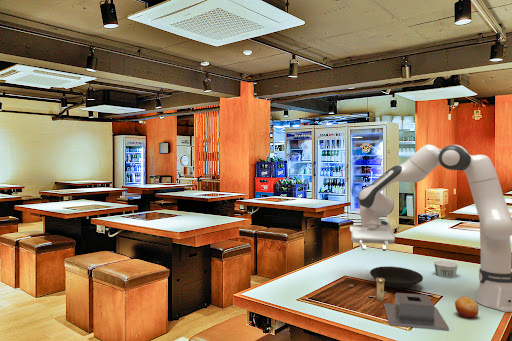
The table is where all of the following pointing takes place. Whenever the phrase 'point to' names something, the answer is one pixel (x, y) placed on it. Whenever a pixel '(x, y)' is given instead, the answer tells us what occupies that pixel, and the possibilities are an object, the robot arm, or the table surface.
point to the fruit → (466, 307)
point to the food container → (445, 269)
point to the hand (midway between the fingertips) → (374, 249)
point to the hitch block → (414, 312)
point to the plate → (397, 276)
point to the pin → (380, 288)
